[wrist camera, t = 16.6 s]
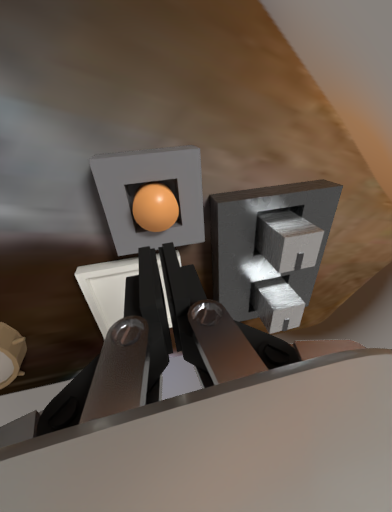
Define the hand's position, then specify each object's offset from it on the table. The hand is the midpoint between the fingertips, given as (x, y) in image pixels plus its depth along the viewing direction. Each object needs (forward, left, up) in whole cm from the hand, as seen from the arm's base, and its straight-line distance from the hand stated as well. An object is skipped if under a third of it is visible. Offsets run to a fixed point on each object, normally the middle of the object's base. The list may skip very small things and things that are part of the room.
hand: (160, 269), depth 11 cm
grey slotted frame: (+10, +13, -14) cm, 22 cm away
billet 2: (+15, +13, -13) cm, 24 cm away
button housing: (0, 0, -14) cm, 14 cm away
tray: (+13, -4, -14) cm, 19 cm away
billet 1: (+5, +13, -13) cm, 19 cm away
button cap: (0, 0, -12) cm, 12 cm away
